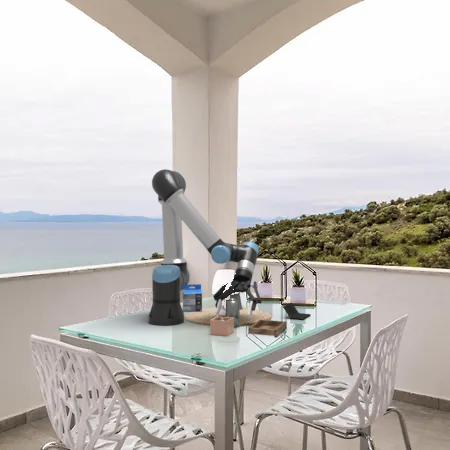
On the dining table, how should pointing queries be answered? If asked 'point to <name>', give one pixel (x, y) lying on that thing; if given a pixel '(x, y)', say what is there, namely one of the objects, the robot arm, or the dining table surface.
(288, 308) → the handheld gaming console
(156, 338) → the dining table surface
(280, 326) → the brown wooden tray
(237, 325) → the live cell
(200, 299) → the label tape box
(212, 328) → the terracotta square pot
